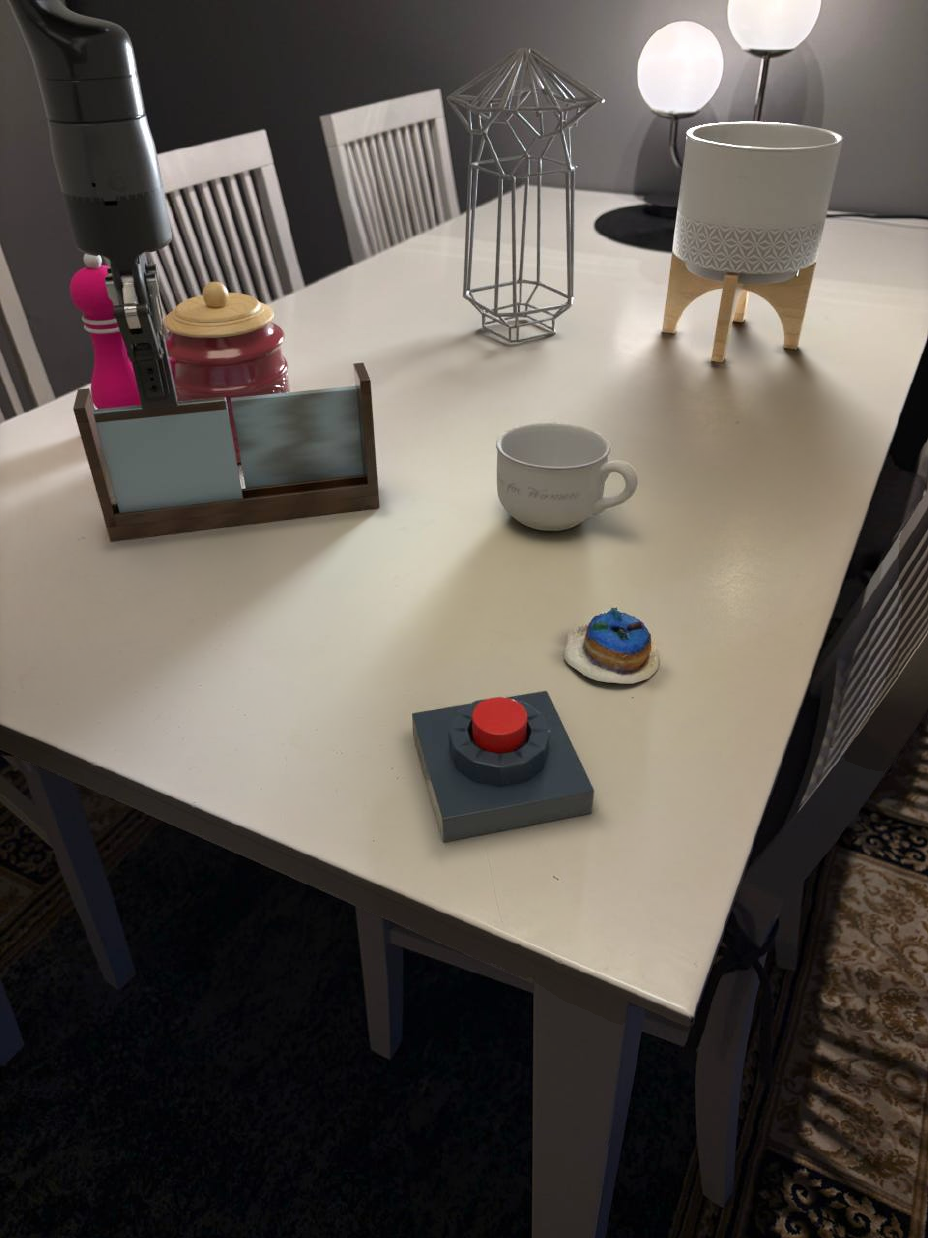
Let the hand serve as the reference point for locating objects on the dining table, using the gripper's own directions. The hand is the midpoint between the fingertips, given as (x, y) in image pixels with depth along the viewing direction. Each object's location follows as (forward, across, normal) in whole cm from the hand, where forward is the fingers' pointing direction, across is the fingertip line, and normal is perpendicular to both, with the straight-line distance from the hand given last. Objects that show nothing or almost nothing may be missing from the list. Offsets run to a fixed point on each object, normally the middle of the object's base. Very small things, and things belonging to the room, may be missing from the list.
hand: (157, 393), depth 81 cm
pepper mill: (+14, -24, -6) cm, 28 cm away
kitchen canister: (+14, -18, +6) cm, 23 cm away
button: (+10, +39, +21) cm, 45 cm away
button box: (+14, +39, +21) cm, 46 cm away
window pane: (+12, 0, 0) cm, 12 cm away
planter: (+14, -34, +75) cm, 83 cm away
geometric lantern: (+14, -45, +47) cm, 66 cm away
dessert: (+14, +29, +33) cm, 46 cm away
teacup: (+14, +8, +36) cm, 39 cm away
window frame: (+14, -1, +6) cm, 15 cm away
